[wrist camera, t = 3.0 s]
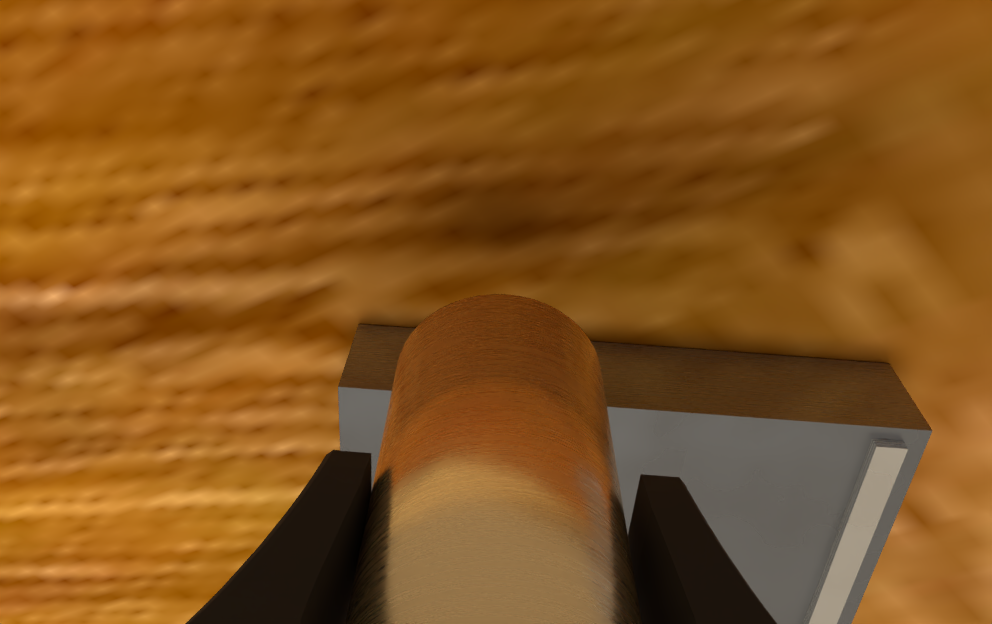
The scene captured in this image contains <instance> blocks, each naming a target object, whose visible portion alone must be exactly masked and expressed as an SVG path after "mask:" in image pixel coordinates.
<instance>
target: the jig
mask: <svg viewBox="0 0 992 624" xmlns="http://www.w3.org/2000/svg"><path fill="white" fill-rule="evenodd" d="M415 329H416V328H405V327H392V326H378V325H365V324H359V325H358V328H357V331H356V334H355V337H354V340H353V343H352V346H351V349H350V352H349V355H348V358H347V361H346V364H345V367H344V370H343V373H342V377H341V380H340V383H339V386H338V397H339V425H340V451H351V452H364V453H371V477H372V487H373V482H374V477H375V472H376V467H377V462H378V457H379V452H380V447H381V442H382V437H383V432H384V427H385V422H386V417H387V412H388V407H389V402H390V397H391V392H392V387H393V382H394V377H395V372H396V367H397V363H398V359H399V355H400V353H401V351H402V348H403V346H404V344H405V342H406V341H407V339H408V338H409V336H410V334H411V333H412V332H413V331H414V330H415ZM591 343H592V345H593V346H594V349H595V351H596V354H597V356H598V359H599V363H600V367H601V373H602V379H603V386H604V392H605V398H606V404H607V410H608V416H609V423H610V429H611V435H612V441H613V447H614V454H615V460H616V466H617V472H618V478H619V485H620V491H621V497H622V503H623V509H624V515H625V522H626V528H627V534H628V532H629V527H630V522H631V517H632V513H633V508H634V503H635V498H636V494H637V489H638V484H639V480H640V475H641V474H645V475H658V476H670V477H679V478H680V479H681V480H682V481H683V482H684V484H685V485H686V487H687V489H688V491H689V492H690V494H691V496H692V498H693V499H694V501H695V503H696V504H697V506H698V508H699V510H700V511H701V513H702V515H703V516H704V518H705V519H706V521H707V523H708V524H709V526H710V528H711V529H712V531H713V532H714V534H715V536H716V537H717V539H718V540H719V542H720V544H721V545H722V547H723V548H724V550H725V551H726V553H727V554H728V556H729V557H730V559H731V560H732V562H733V563H734V565H735V566H736V568H737V569H738V570H739V572H740V573H741V575H742V576H743V578H744V579H745V581H746V582H747V583H748V585H749V586H750V588H751V589H752V591H753V592H754V593H755V595H756V596H757V598H758V599H759V600H760V602H761V603H762V604H763V606H764V607H765V608H766V610H767V611H768V612H769V614H770V615H771V616H772V617H773V619H774V620H775V621H776V623H777V624H851V623H852V621H853V618H854V616H855V614H856V611H857V609H858V606H859V604H860V602H861V599H862V597H863V594H864V592H865V590H866V587H867V585H868V583H869V580H870V578H871V575H872V573H873V571H874V568H875V566H876V564H877V561H878V559H879V556H880V554H881V552H882V549H883V547H884V545H885V542H886V540H887V537H888V535H889V533H890V530H891V528H892V526H893V523H894V521H895V518H896V516H897V514H898V511H899V509H900V507H901V504H902V502H903V499H904V497H905V495H906V492H907V490H908V488H909V485H910V483H911V480H912V478H913V476H914V473H915V471H916V468H917V466H918V464H919V461H920V459H921V457H922V454H923V452H924V449H925V447H926V445H927V442H928V440H929V438H930V435H931V433H932V429H931V428H930V426H929V425H928V423H927V422H926V420H925V418H924V417H923V415H922V414H921V412H920V411H919V409H918V408H917V406H916V404H915V403H914V401H913V400H912V398H911V397H910V395H909V394H908V392H907V390H906V389H905V387H904V386H903V384H902V383H901V381H900V379H899V378H898V376H897V375H896V373H895V372H894V370H893V369H892V367H891V365H890V364H889V363H876V362H862V361H849V360H835V359H822V358H809V357H795V356H782V355H768V354H755V353H741V352H728V351H714V350H701V349H687V348H674V347H661V346H647V345H634V344H620V343H607V342H593V341H591Z"/></svg>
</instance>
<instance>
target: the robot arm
mask: <svg viewBox="0 0 992 624" xmlns="http://www.w3.org/2000/svg"><path fill="white" fill-rule="evenodd" d="M371 492H372V477H371V453H364V452H351V451H338V450H333V451H331V452H330V453H328V454H327V455H326V456H325V458H324V459H323V461H322V463H321V464H320V466H319V467H318V469H317V470H316V472H315V473H314V475H313V476H312V478H311V479H310V481H309V482H308V484H307V485H306V487H305V488H304V489H303V491H302V492H301V494H300V495H299V496H298V498H297V499H296V500H295V502H294V503H293V504H292V506H291V507H290V508H289V510H288V511H287V512H286V514H285V515H284V516H283V517H282V519H281V520H280V521H279V522H278V524H277V525H276V526H275V527H274V529H273V530H272V531H271V532H270V534H269V535H268V536H267V537H266V539H265V540H264V541H263V542H262V543H261V545H260V546H259V547H258V548H257V549H256V551H255V552H254V553H253V554H252V555H251V556H250V557H249V558H248V559H247V561H246V562H245V563H244V564H243V565H242V566H241V567H240V568H239V569H238V571H237V572H236V573H235V574H234V575H233V576H232V577H231V578H230V579H229V581H228V582H227V583H226V584H225V585H224V586H223V587H222V588H221V589H220V590H219V591H218V592H217V593H216V594H215V595H214V596H213V597H212V598H211V599H210V600H209V601H208V602H207V603H206V604H205V605H204V606H203V607H202V608H201V609H200V610H199V611H198V612H197V613H196V614H195V615H194V616H193V617H192V618H191V619H190V620H189V621H188V622H187V623H186V624H345V622H346V617H347V612H348V607H349V602H350V597H351V592H352V587H353V582H354V577H355V572H356V567H357V562H358V557H359V552H360V547H361V542H362V537H363V532H364V527H365V522H366V517H367V512H368V507H369V502H370V497H371ZM628 540H629V546H630V553H631V559H632V565H633V571H634V577H635V584H636V590H637V596H638V602H639V608H640V614H641V621H642V624H777V623H776V621H775V620H774V619H773V617H772V616H771V615H770V614H769V612H768V611H767V610H766V608H765V607H764V606H763V604H762V603H761V602H760V600H759V599H758V598H757V596H756V595H755V593H754V592H753V591H752V589H751V588H750V586H749V585H748V583H747V582H746V581H745V579H744V578H743V576H742V575H741V573H740V572H739V570H738V569H737V568H736V566H735V565H734V563H733V562H732V560H731V559H730V557H729V556H728V554H727V553H726V551H725V550H724V548H723V547H722V545H721V544H720V542H719V540H718V539H717V537H716V536H715V534H714V532H713V531H712V529H711V528H710V526H709V524H708V523H707V521H706V519H705V518H704V516H703V515H702V513H701V511H700V510H699V508H698V506H697V504H696V503H695V501H694V499H693V498H692V496H691V494H690V492H689V491H688V489H687V487H686V485H685V484H684V482H683V481H682V480H681V479H680V478H679V477H670V476H658V475H645V474H641V475H640V480H639V484H638V489H637V494H636V498H635V503H634V508H633V513H632V517H631V522H630V527H629V532H628Z"/></svg>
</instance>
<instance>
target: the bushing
mask: <svg viewBox="0 0 992 624" xmlns="http://www.w3.org/2000/svg"><path fill="white" fill-rule="evenodd" d="M345 624H642V621H641V614H640V608H639V602H638V596H637V590H636V584H635V577H634V571H633V565H632V559H631V553H630V546H629V540H628V534H627V528H626V522H625V515H624V509H623V503H622V497H621V491H620V485H619V478H618V472H617V466H616V460H615V454H614V447H613V441H612V435H611V429H610V423H609V416H608V410H607V404H606V398H605V392H604V386H603V379H602V373H601V367H600V363H599V359H598V356H597V354H596V351H595V349H594V346H593V345H592V343H591V341H590V340H589V338H588V337H587V335H586V334H585V333H584V332H583V330H582V329H581V328H580V327H579V326H578V325H577V324H576V323H575V322H574V321H573V320H572V319H570V318H569V317H568V316H566V315H565V314H563V313H562V312H560V311H559V310H557V309H555V308H553V307H551V306H549V305H547V304H545V303H542V302H539V301H537V300H534V299H530V298H526V297H522V296H514V295H505V294H491V295H481V296H475V297H470V298H466V299H462V300H459V301H457V302H454V303H451V304H449V305H447V306H445V307H443V308H441V309H439V310H437V311H436V312H434V313H433V314H431V315H430V316H428V317H427V318H426V319H425V320H424V321H423V322H421V323H420V324H419V325H418V326H417V327H416V329H415V330H414V331H413V332H412V333H411V334H410V336H409V338H408V339H407V341H406V342H405V344H404V346H403V348H402V351H401V353H400V355H399V359H398V363H397V367H396V372H395V377H394V382H393V387H392V392H391V397H390V402H389V407H388V412H387V417H386V422H385V427H384V432H383V437H382V442H381V447H380V452H379V457H378V462H377V467H376V472H375V477H374V482H373V487H372V492H371V497H370V502H369V507H368V512H367V517H366V522H365V527H364V532H363V537H362V542H361V547H360V552H359V557H358V562H357V567H356V572H355V577H354V582H353V587H352V592H351V597H350V602H349V607H348V612H347V617H346V622H345Z"/></svg>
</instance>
